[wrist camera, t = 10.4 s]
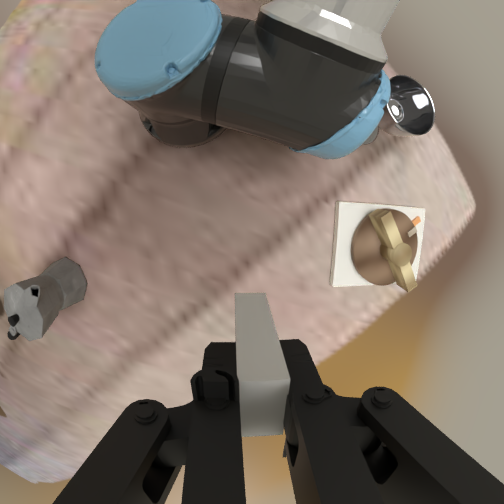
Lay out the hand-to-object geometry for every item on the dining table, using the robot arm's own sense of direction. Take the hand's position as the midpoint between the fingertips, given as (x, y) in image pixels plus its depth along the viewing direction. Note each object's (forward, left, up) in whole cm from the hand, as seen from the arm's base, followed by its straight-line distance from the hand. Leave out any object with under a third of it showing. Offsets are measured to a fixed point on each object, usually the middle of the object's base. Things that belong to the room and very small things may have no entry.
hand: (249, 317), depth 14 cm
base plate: (+3, +24, -29) cm, 38 cm away
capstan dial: (+3, +24, -28) cm, 37 cm away
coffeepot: (+10, -33, -30) cm, 46 cm away
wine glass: (-18, +20, -30) cm, 40 cm away
